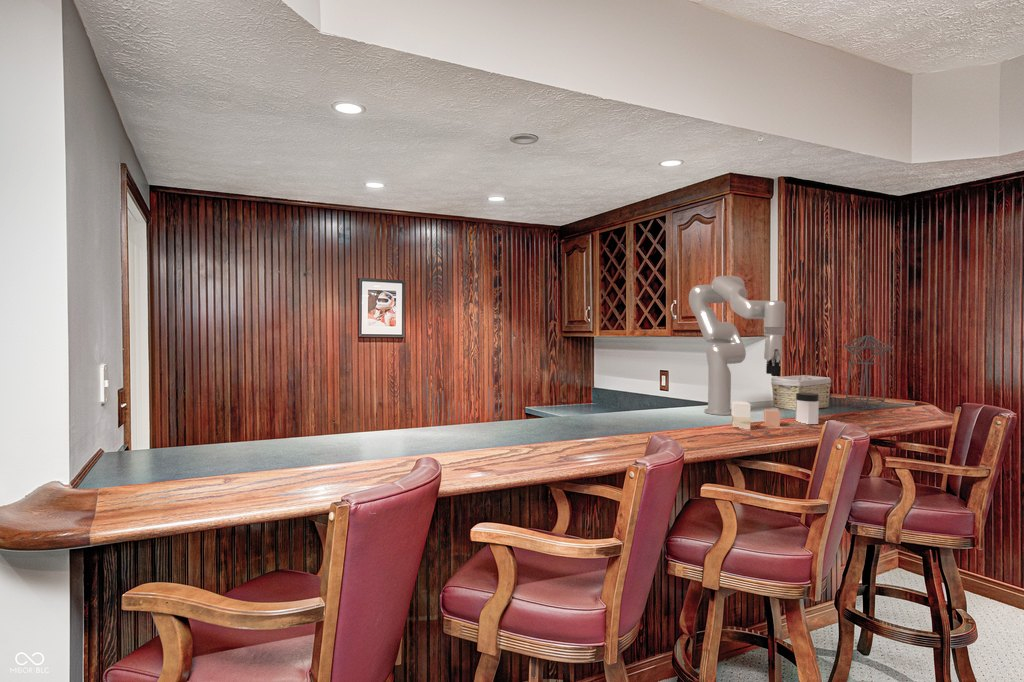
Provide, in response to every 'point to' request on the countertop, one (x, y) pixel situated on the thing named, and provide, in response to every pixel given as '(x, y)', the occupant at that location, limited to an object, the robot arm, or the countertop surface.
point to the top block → (772, 417)
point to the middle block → (741, 409)
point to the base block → (741, 422)
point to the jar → (807, 408)
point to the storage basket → (799, 389)
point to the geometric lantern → (866, 368)
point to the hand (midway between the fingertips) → (773, 374)
